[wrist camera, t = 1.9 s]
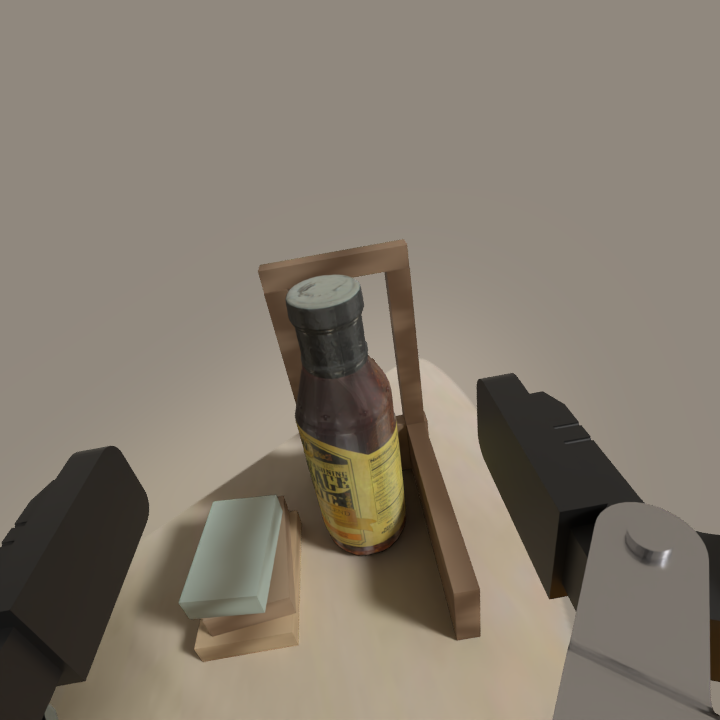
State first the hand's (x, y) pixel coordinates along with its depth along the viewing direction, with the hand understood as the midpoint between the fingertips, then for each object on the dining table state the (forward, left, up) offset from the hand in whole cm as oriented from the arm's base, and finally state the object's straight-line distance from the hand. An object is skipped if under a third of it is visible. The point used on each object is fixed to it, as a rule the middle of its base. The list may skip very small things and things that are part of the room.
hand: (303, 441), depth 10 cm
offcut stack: (-8, +11, -22) cm, 26 cm away
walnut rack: (+1, +13, -22) cm, 26 cm away
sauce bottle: (0, +14, -22) cm, 26 cm away
